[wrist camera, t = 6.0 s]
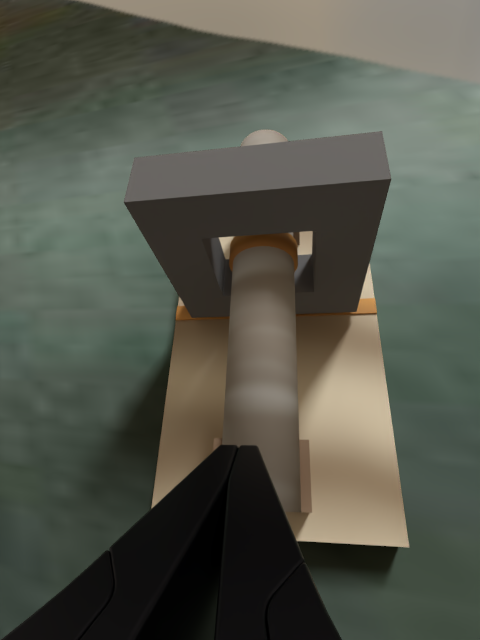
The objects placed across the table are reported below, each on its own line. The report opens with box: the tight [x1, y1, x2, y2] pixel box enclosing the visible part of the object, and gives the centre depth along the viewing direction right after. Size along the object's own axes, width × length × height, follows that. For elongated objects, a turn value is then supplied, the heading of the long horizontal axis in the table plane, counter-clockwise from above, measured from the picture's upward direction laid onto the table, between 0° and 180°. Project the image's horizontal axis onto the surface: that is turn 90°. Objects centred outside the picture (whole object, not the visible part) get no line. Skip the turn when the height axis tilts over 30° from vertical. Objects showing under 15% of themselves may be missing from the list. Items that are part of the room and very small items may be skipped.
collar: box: [124, 131, 391, 318], centre depth 15 cm, size 2×8×8 cm, turn 87°
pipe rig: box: [151, 130, 409, 547], centre depth 16 cm, size 17×10×7 cm, turn 178°
